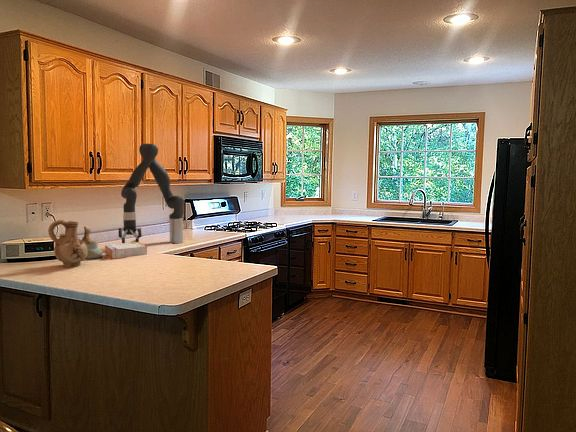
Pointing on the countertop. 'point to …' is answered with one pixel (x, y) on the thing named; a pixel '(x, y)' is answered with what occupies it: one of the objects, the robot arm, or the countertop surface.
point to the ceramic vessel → (70, 243)
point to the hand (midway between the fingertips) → (130, 244)
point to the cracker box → (125, 250)
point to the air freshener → (93, 251)
